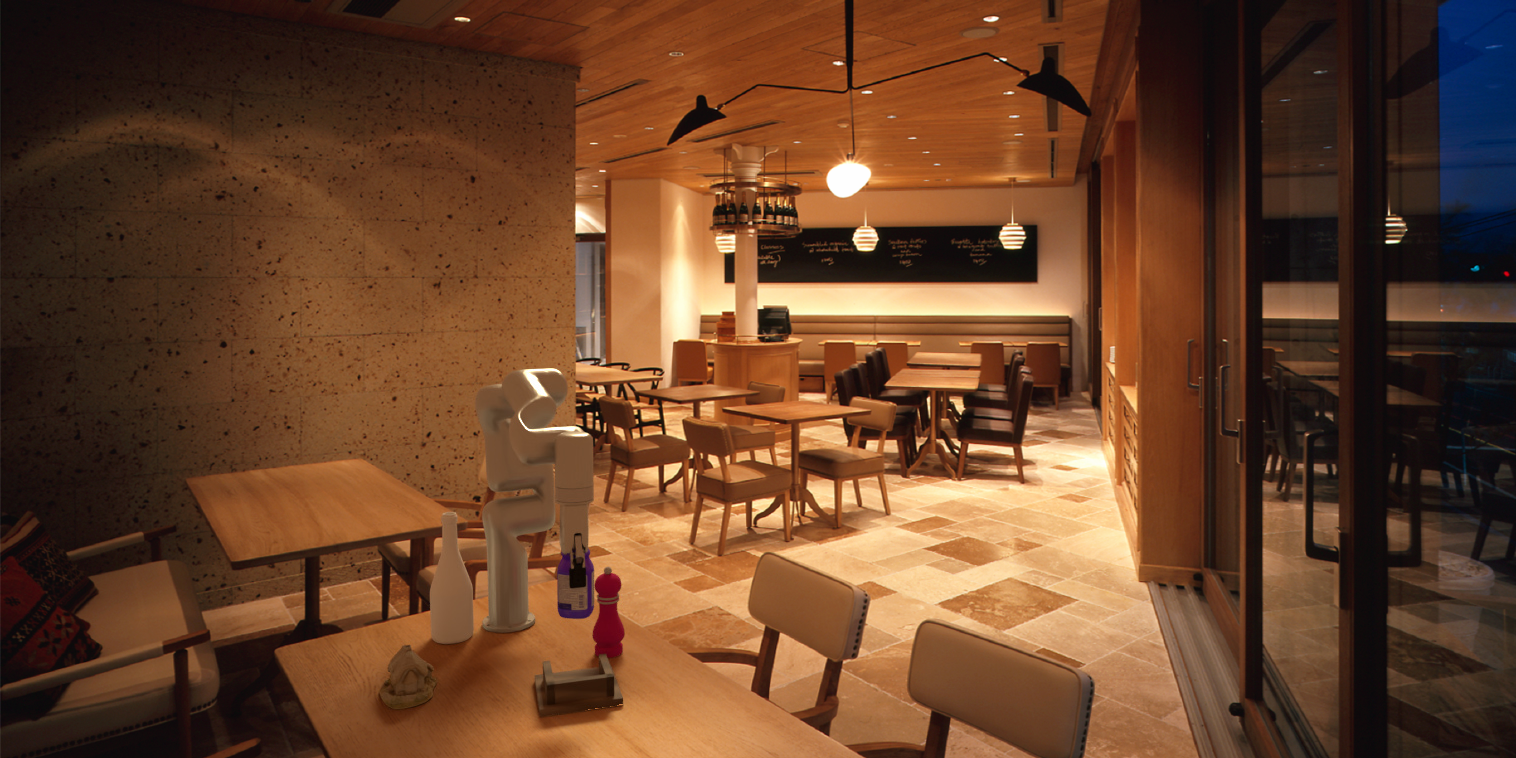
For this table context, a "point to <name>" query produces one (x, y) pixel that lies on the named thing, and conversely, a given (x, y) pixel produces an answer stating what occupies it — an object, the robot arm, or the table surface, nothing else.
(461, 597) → the wine bottle
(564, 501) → the robot arm
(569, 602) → the bottle
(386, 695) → the ceramic model
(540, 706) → the bottle rest
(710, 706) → the table surface
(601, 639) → the pepper mill
